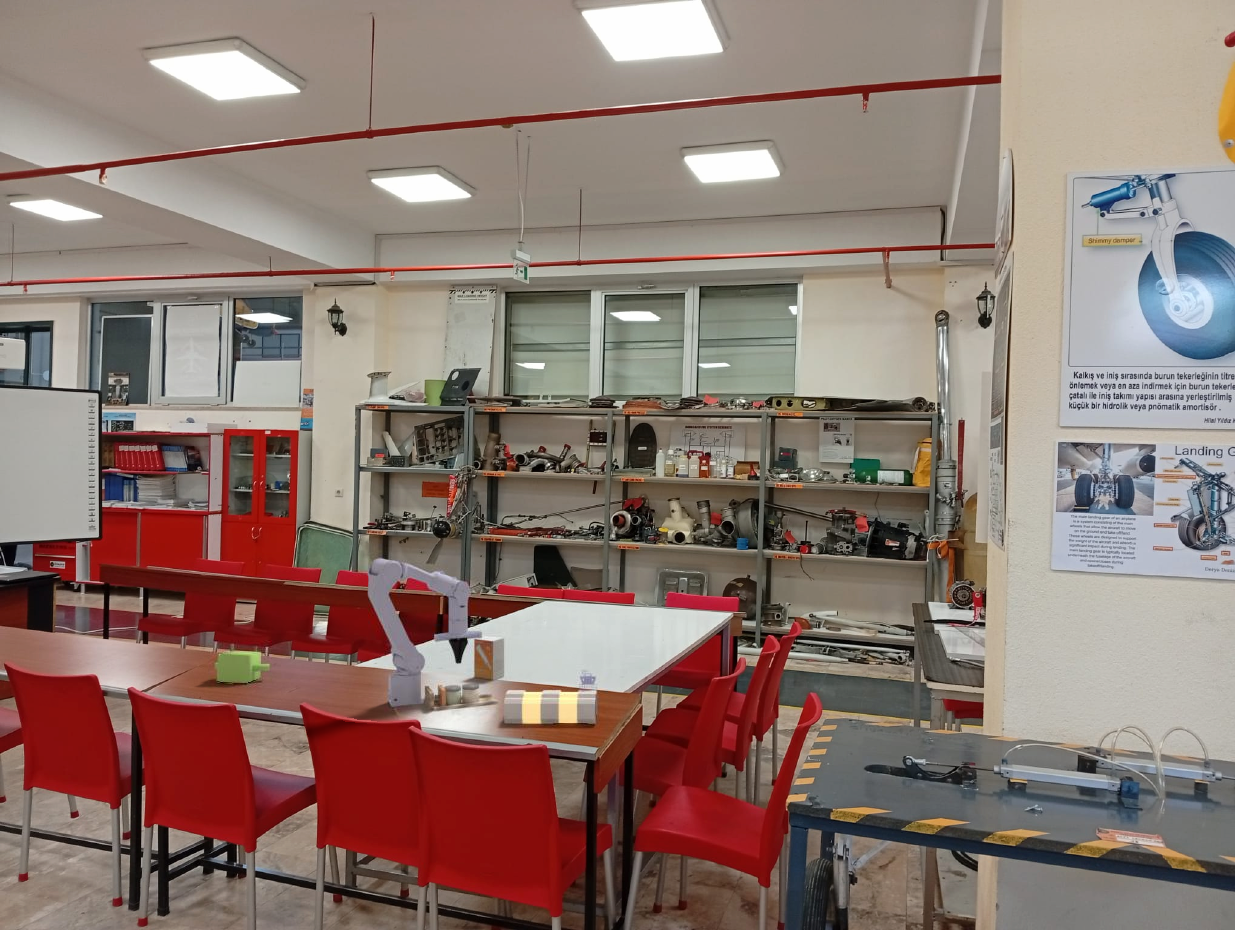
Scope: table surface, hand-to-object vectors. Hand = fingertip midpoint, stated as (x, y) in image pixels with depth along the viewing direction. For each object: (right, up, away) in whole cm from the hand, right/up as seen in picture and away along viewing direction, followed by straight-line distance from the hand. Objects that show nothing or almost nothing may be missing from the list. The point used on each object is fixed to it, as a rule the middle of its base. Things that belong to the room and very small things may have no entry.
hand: (458, 662), depth 272 cm
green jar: (+1, -9, -15) cm, 17 cm away
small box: (+7, -10, +21) cm, 24 cm away
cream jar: (+6, -9, -13) cm, 17 cm away
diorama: (+31, -10, -28) cm, 43 cm away
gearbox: (-75, -10, +18) cm, 77 cm away
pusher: (-3, -9, -16) cm, 19 cm away
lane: (+3, -9, -14) cm, 17 cm away
